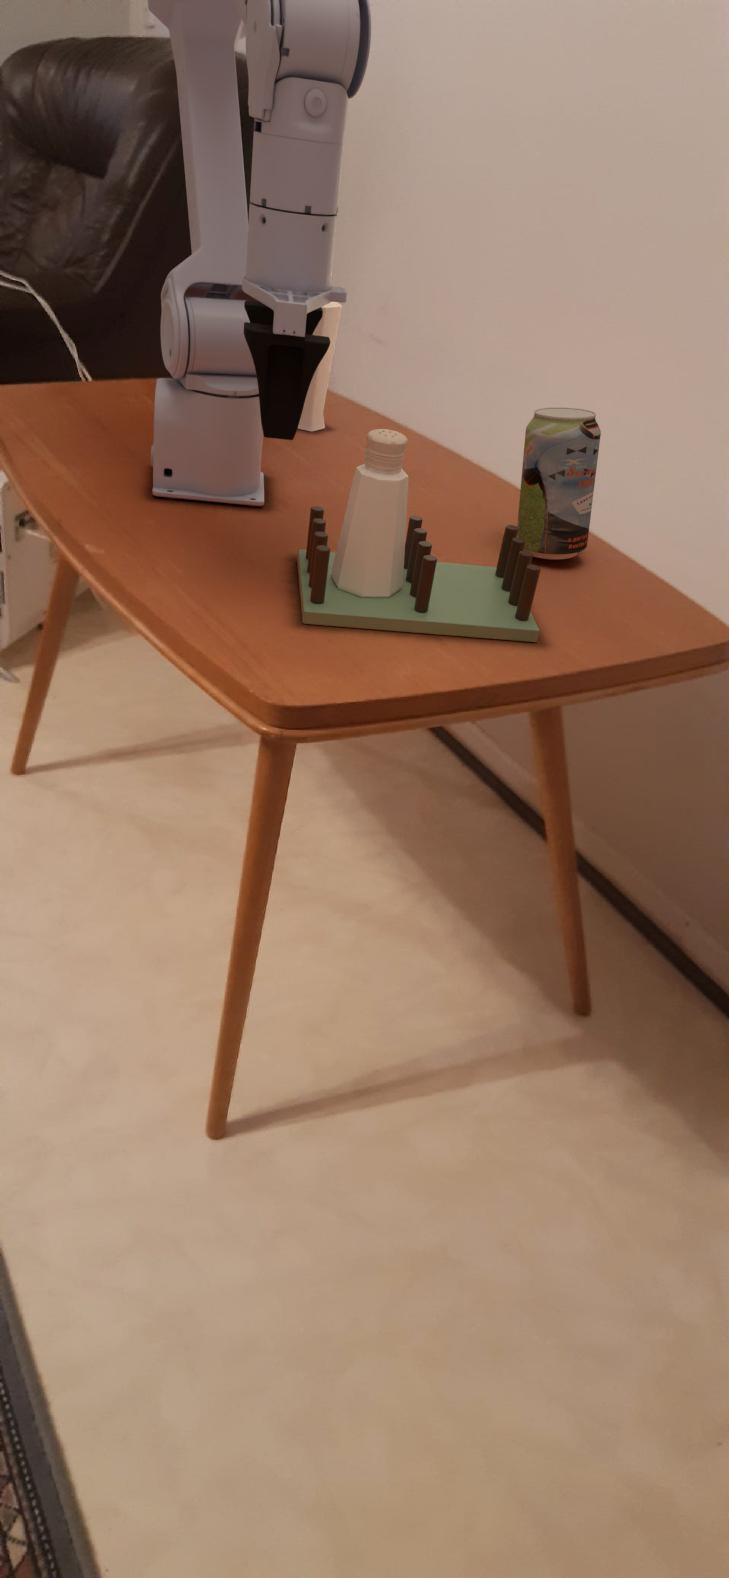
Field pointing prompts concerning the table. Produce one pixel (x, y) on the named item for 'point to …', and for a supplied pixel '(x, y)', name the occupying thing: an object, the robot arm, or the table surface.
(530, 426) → the beverage can
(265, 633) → the table surface
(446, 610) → the rack
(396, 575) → the salt shaker
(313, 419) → the perfume bottle
